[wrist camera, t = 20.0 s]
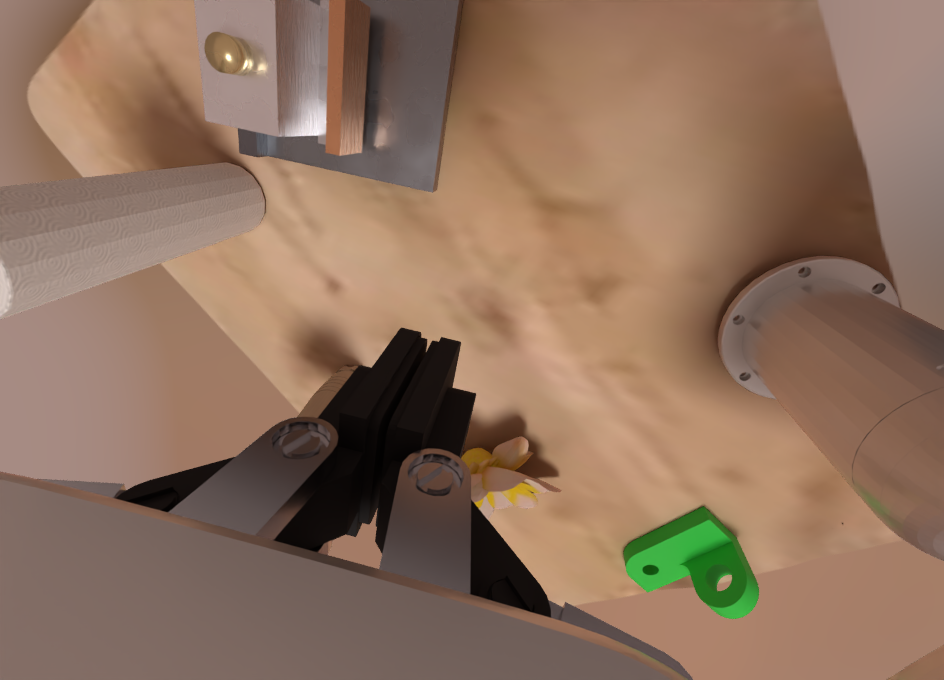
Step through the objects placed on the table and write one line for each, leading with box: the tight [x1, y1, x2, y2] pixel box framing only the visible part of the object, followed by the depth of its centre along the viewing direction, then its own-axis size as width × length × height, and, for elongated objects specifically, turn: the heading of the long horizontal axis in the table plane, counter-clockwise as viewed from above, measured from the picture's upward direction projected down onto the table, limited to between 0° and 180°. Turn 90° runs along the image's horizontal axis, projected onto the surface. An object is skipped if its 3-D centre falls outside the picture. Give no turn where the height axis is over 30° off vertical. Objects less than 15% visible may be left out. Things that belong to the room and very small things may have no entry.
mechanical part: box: [624, 506, 759, 619], centre depth 46 cm, size 12×6×8 cm, turn 136°
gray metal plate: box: [238, 0, 464, 192], centre depth 32 cm, size 16×13×3 cm
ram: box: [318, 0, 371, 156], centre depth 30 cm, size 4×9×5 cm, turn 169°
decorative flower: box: [461, 436, 561, 519], centre depth 44 cm, size 15×11×10 cm
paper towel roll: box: [0, 162, 265, 319], centre depth 30 cm, size 7×6×21 cm
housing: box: [194, 0, 320, 137], centre depth 28 cm, size 5×8×8 cm, turn 169°
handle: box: [298, 365, 358, 418], centre depth 39 cm, size 5×6×15 cm
